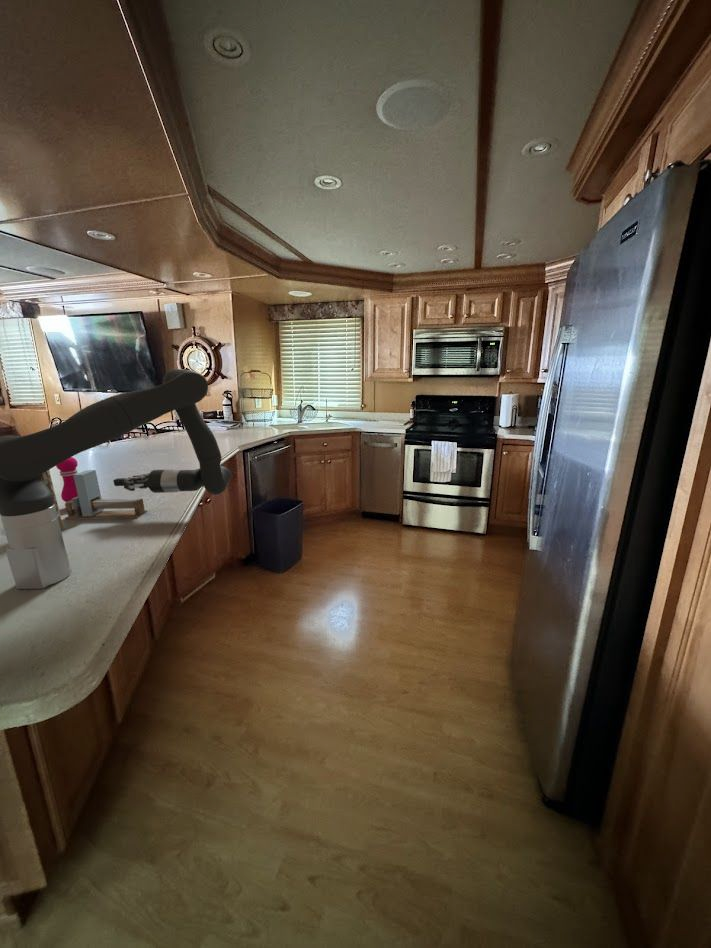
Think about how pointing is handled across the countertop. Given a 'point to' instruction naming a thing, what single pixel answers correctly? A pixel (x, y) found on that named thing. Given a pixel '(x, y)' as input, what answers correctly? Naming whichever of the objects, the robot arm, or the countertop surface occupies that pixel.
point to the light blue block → (87, 491)
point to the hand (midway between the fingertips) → (115, 482)
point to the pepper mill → (68, 478)
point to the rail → (110, 513)
